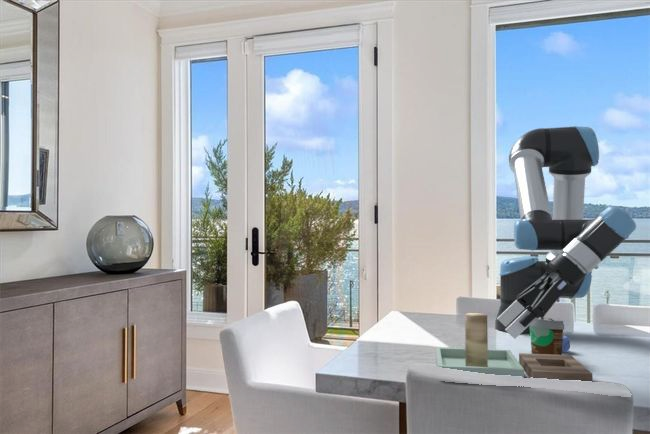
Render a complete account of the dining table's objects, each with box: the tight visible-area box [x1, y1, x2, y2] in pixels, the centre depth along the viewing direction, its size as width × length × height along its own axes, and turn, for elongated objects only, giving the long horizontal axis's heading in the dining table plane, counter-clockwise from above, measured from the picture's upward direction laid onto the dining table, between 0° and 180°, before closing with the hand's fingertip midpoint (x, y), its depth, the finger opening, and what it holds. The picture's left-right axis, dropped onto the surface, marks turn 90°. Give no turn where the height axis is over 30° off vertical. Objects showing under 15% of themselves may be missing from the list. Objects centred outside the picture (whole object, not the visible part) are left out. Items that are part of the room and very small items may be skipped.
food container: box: [529, 317, 565, 355], centre depth 138 cm, size 12×6×10 cm, turn 5°
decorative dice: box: [562, 335, 571, 354], centre depth 143 cm, size 4×4×4 cm
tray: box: [435, 346, 525, 378], centre depth 124 cm, size 18×18×3 cm
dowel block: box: [518, 352, 594, 382], centre depth 121 cm, size 16×12×2 cm
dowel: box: [464, 312, 489, 367], centre depth 124 cm, size 5×5×12 cm
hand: (505, 328), depth 123 cm, fingers open, 13 cm apart
